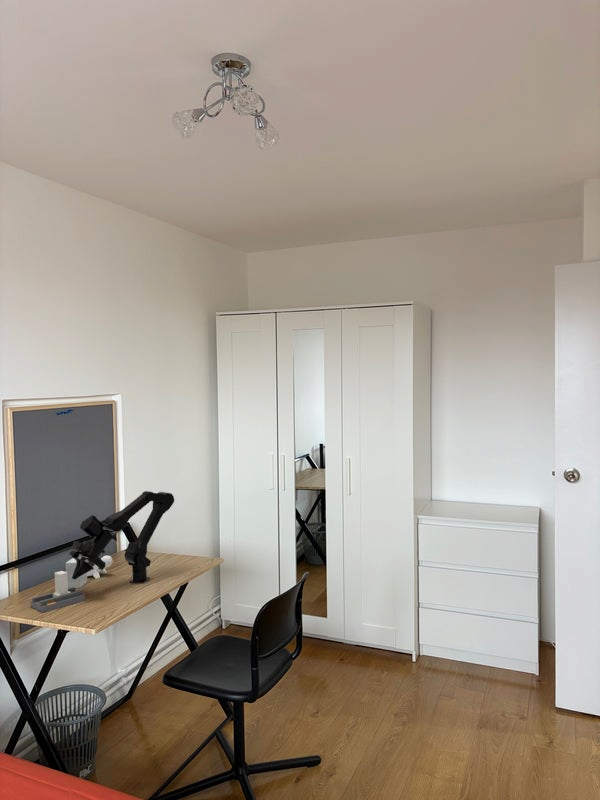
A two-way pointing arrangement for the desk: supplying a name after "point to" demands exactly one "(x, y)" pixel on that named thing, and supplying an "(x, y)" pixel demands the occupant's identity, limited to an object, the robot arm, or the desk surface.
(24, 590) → the desk surface
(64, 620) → the desk surface
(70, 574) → the small box
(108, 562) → the white toy figurine
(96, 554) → the robot arm
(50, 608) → the switch base
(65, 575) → the switch tab
